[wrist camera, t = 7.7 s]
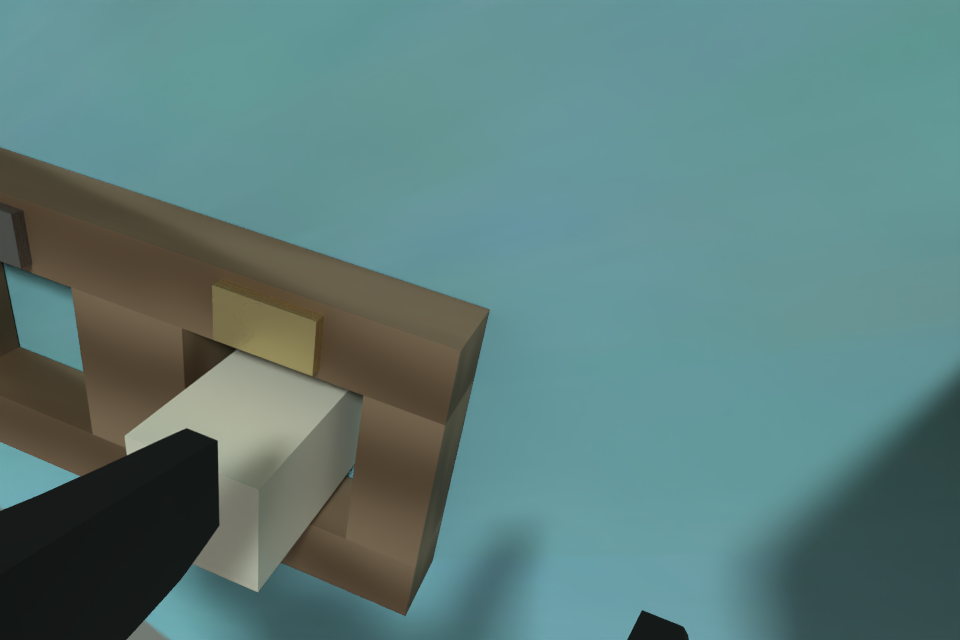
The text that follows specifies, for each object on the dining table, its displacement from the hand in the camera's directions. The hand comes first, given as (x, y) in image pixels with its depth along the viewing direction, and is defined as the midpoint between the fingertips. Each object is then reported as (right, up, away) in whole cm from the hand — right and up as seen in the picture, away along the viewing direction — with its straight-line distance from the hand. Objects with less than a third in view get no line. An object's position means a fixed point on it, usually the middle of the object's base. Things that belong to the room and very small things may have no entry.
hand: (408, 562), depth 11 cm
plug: (-5, +1, +12) cm, 13 cm away
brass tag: (-5, +4, +8) cm, 10 cm away
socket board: (-9, +3, +13) cm, 16 cm away
